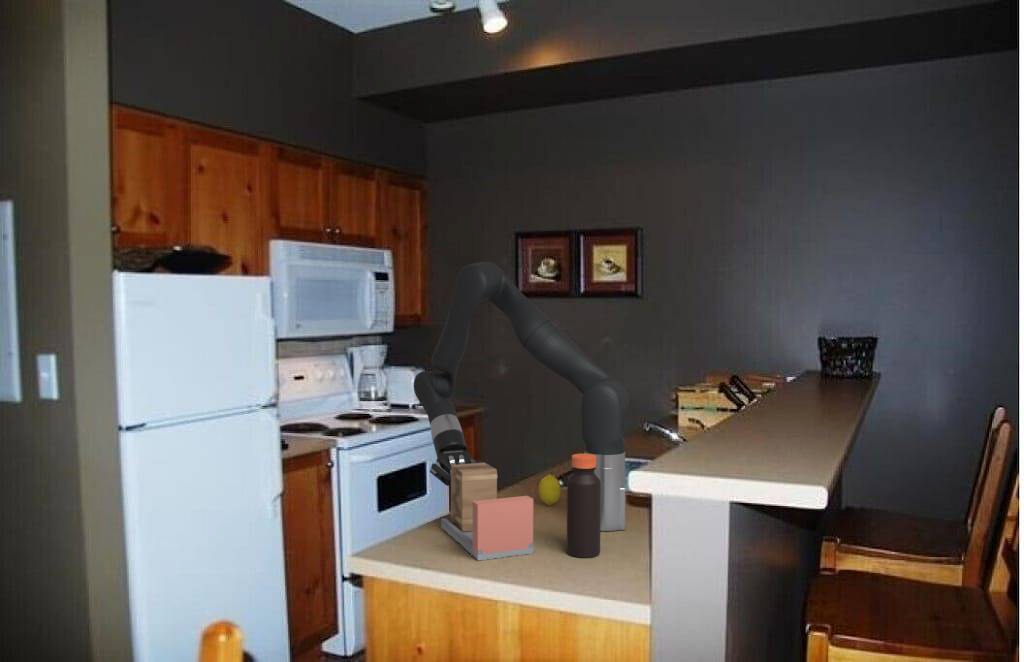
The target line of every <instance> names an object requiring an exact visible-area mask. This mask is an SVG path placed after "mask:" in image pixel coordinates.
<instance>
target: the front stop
mask: <svg viewBox="0 0 1024 662" xmlns="http://www.w3.org/2000/svg"><path fill="white" fill-rule="evenodd" d="M529 543H533V544H534V498H533V497H530V496H529V495H523V496H522V495H520V496H519V495H518V496H512V497H511V496H509V497H501V498H497V499H490V500H480V501H473V551H474V552H475V553H476V554H477V555H478V550H481V549H483V554H489V553H497V552H504V551H512V550H520V549H527V548H529Z"/></svg>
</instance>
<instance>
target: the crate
mask: <svg viewBox="0 0 1024 662" xmlns="http://www.w3.org/2000/svg"><path fill="white" fill-rule="evenodd" d="M450 474H451V485H450V522H451V523H453V524H454V525H455V526H456V527H457V528H458V529H460V530H461V531H462V532H465V531H473V501H480V500H490V499H498V492H497V491H498V489H497V488H498V486H497V485H498V480H497V479H498V471H497V469H496V468H495V467H493V466H491V465H490V464H489V463H486V462H481V463H471V464H459V465H451V470H450Z"/></svg>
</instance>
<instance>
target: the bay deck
mask: <svg viewBox="0 0 1024 662" xmlns="http://www.w3.org/2000/svg"><path fill="white" fill-rule="evenodd" d="M440 524H441V526H440V528H441V527H442V528H443V529H444V530H445V531H446V532H447V533H449V534H450V535H451V536H452V537H453V538H454V539H455V540H456V541H457V542H459V543H460V544H461V545H462V546H463V547H464V548H465V549H466V550H467V551H468V552H469V553H471V554H470V556H472V555H473V556H474V557H475V558H476V559H477V560H478V561H477V560H476V559H475V558H474V557H473V556H472V557H473V558H474V559H475V560H476V561H477V562H480V561H479V560H482V561H488V560H487V559H489V560H495V559H494V558H497V559H502V558H501V557H504V558H508V557H507V556H512V557H516V556H515V555H519V556H526V555H525V554H527V555H533V554H534V542H533V543H529V548H527V549H520V550H512V551H504V552H497V553H489V554H483V549H481V550H478V555H477V554H476V553H475V552H474V551H473V531H465V532H462V531H461V530H460V529H458V528H457V527H456V526H455V525H454V524H453V523H451V520H448V518H446V517H444V518H441V523H440ZM442 528H441V529H442ZM443 529H442V530H443ZM444 530H443V531H444ZM445 531H444V532H445ZM446 532H445V533H446ZM447 533H446V534H447ZM450 535H449V536H450ZM451 536H450V537H451ZM452 537H451V538H452ZM453 538H452V539H453ZM454 539H453V540H454ZM455 540H454V541H455ZM456 541H455V542H456ZM457 542H456V543H457ZM460 544H459V545H460ZM461 545H460V546H461ZM462 546H461V547H462ZM463 547H462V548H463ZM464 548H463V549H464ZM465 549H464V550H465ZM466 550H465V551H466ZM467 551H466V552H467ZM468 552H467V553H468ZM469 553H468V554H469Z"/></svg>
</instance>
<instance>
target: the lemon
mask: <svg viewBox="0 0 1024 662" xmlns="http://www.w3.org/2000/svg"><path fill="white" fill-rule="evenodd" d="M538 497H539V498H540V500H541V501H542V502H543V503H545V504H546V505H547V506H548V507H550V506H552V505H553V504H554V503H557V501H559V499H560V497H561V484H560V482H559V479H558V478H556V476H554V475H552V474H547V475H546V476H544V477H542V479H541V480H540V481H539V484H538Z"/></svg>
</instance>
